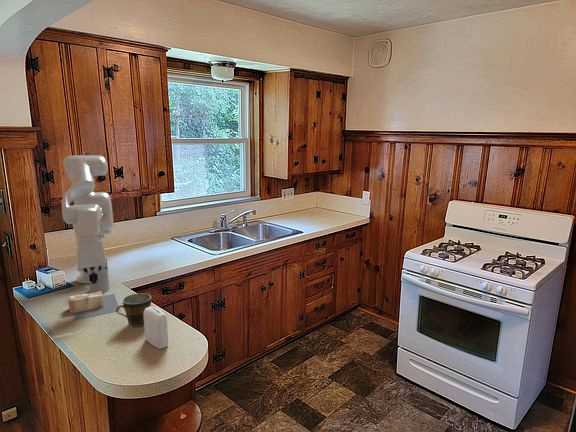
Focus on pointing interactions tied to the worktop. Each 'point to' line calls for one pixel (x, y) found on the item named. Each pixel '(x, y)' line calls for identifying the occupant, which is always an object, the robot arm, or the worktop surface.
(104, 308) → the rubber mat
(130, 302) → the ceramic cup
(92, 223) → the robot arm
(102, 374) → the worktop surface
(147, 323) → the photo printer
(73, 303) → the maple block
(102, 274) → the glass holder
